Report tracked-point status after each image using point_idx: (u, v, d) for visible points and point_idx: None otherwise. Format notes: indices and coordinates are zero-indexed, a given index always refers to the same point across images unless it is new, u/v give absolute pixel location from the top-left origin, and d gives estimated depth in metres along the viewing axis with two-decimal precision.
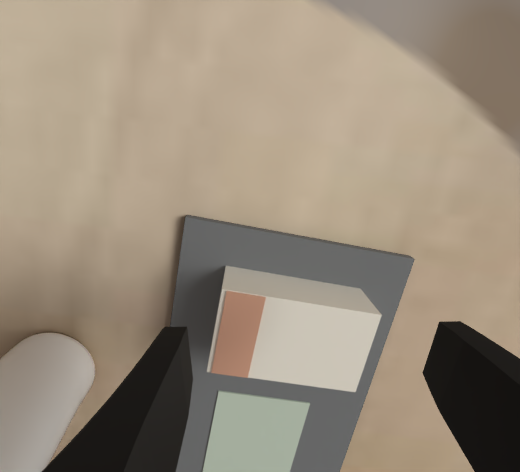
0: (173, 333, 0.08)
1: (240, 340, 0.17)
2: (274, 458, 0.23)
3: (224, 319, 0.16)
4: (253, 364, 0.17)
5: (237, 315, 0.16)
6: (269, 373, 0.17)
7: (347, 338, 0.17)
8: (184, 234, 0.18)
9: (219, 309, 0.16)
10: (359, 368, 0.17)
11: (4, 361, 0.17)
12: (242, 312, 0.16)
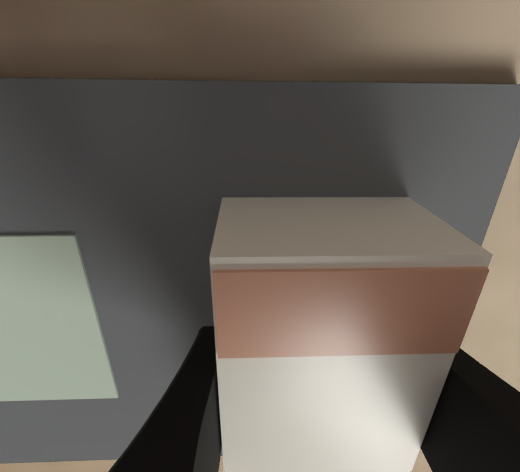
0: (212, 332, 0.08)
1: (328, 322, 0.06)
2: None
3: (401, 277, 0.06)
4: (260, 360, 0.06)
5: (405, 302, 0.06)
6: (239, 393, 0.07)
7: None
8: (494, 88, 0.07)
9: (427, 258, 0.06)
10: None
11: None
12: (420, 315, 0.06)
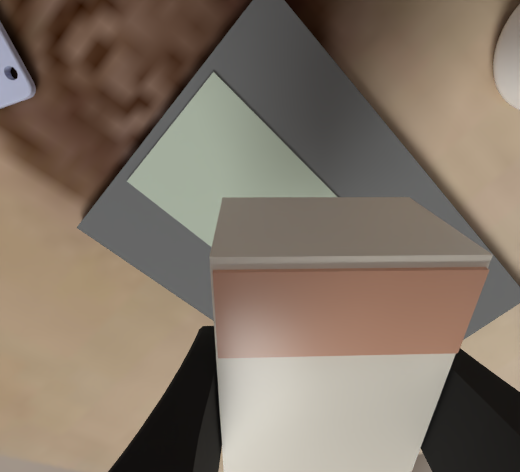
0: (212, 332, 0.08)
1: (328, 323, 0.06)
2: None
3: (401, 277, 0.06)
4: (260, 360, 0.06)
5: (404, 301, 0.06)
6: (239, 392, 0.07)
7: None
8: (519, 288, 0.19)
9: (427, 258, 0.06)
10: None
11: None
12: (420, 314, 0.06)
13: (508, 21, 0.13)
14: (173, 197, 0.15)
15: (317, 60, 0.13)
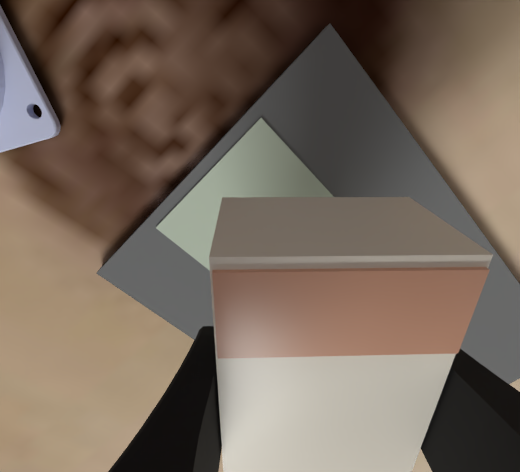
0: (212, 333, 0.08)
1: (328, 322, 0.06)
2: None
3: (401, 277, 0.06)
4: (260, 360, 0.06)
5: (405, 302, 0.06)
6: (238, 393, 0.07)
7: None
8: None
9: (427, 258, 0.06)
10: None
11: None
12: (420, 315, 0.06)
13: None
14: (205, 245, 0.14)
15: (375, 109, 0.12)
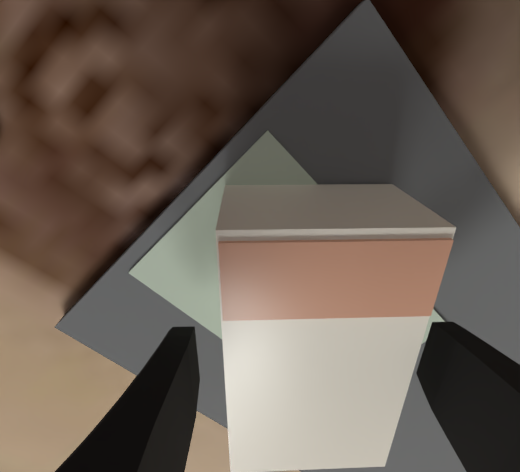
0: (181, 333, 0.08)
1: (317, 288, 0.07)
2: None
3: (378, 247, 0.07)
4: (259, 323, 0.07)
5: (383, 269, 0.07)
6: (241, 353, 0.08)
7: (337, 441, 0.10)
8: None
9: (400, 230, 0.07)
10: (280, 466, 0.10)
11: None
12: (396, 281, 0.07)
13: None
14: (193, 293, 0.11)
15: (424, 119, 0.09)
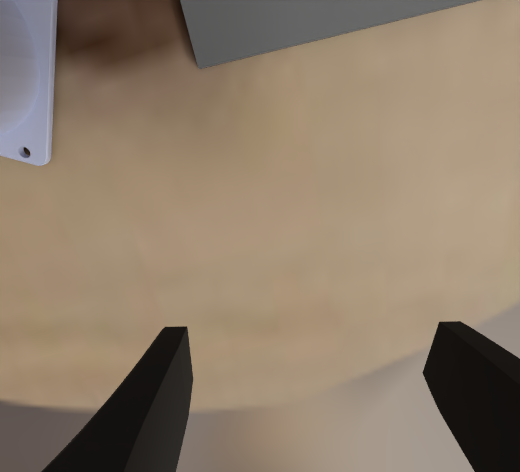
0: (173, 333, 0.08)
1: None
2: None
3: None
4: None
5: None
6: None
7: None
8: None
9: None
10: None
11: None
12: None
13: None
14: None
15: None
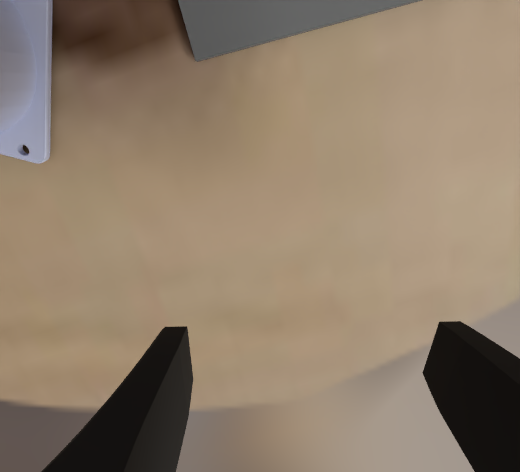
0: (173, 333, 0.08)
1: None
2: None
3: None
4: None
5: None
6: None
7: None
8: None
9: None
10: None
11: None
12: None
13: None
14: None
15: None
